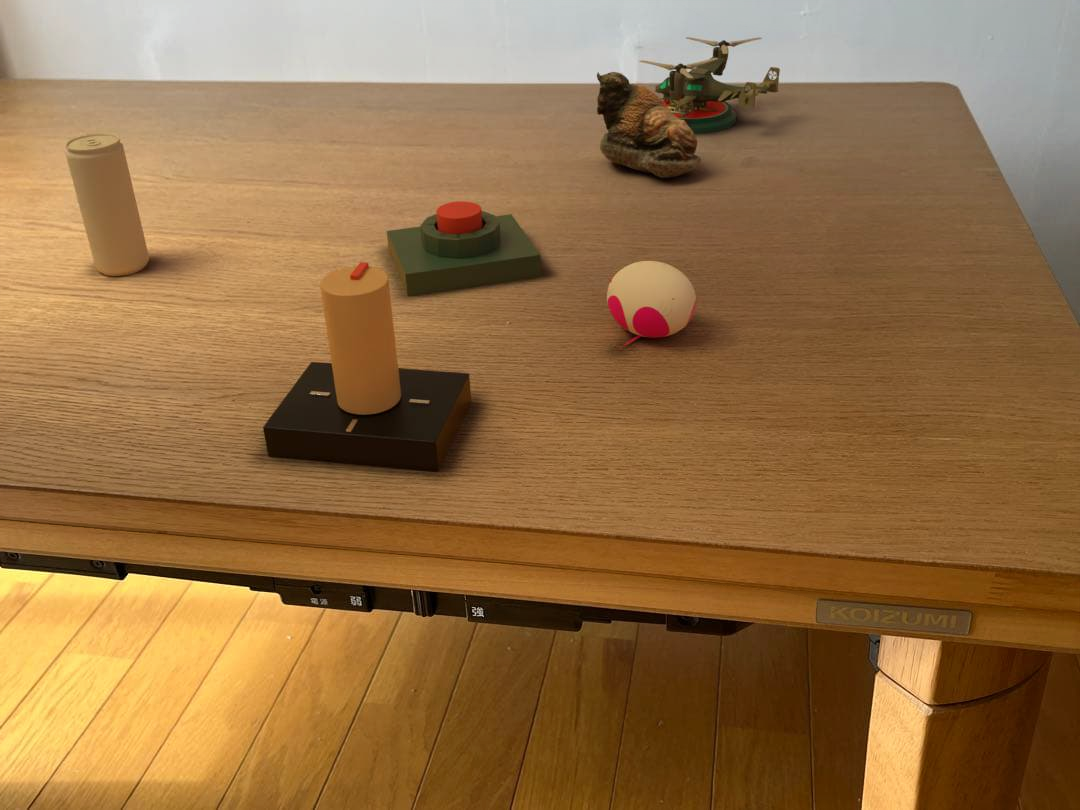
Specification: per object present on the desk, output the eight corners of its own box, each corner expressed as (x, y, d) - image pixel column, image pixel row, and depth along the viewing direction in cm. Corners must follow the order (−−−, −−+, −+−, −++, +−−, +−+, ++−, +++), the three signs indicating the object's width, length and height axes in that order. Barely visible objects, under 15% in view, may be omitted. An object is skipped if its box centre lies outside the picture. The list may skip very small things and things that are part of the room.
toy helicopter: (683, 92, 145) (686, 26, 141) (795, 108, 138) (802, 39, 133) (608, 136, 131) (609, 64, 126) (729, 156, 124) (733, 81, 119)
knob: (390, 417, 74) (375, 292, 70) (328, 412, 75) (309, 288, 70) (409, 384, 78) (396, 263, 73) (349, 380, 79) (333, 260, 74)
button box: (407, 297, 96) (403, 254, 94) (388, 252, 104) (384, 212, 102) (541, 277, 98) (539, 235, 96) (512, 235, 107) (510, 195, 104)
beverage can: (101, 282, 100) (68, 154, 94) (91, 264, 104) (59, 138, 97) (155, 270, 102) (126, 143, 96) (144, 252, 106) (115, 129, 99)
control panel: (268, 457, 75) (261, 425, 74) (315, 390, 83) (310, 359, 81) (438, 473, 73) (435, 439, 72) (471, 402, 81) (469, 371, 79)
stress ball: (601, 362, 92) (568, 318, 87) (648, 284, 94) (619, 237, 88) (676, 388, 87) (646, 344, 82) (724, 306, 89) (697, 258, 84)
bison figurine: (709, 171, 120) (714, 77, 115) (678, 191, 115) (682, 94, 110) (613, 153, 126) (614, 63, 120) (580, 172, 121) (579, 79, 116)
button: (442, 239, 97) (441, 220, 96) (433, 222, 100) (432, 204, 100) (487, 233, 98) (486, 214, 97) (476, 216, 101) (475, 198, 100)
